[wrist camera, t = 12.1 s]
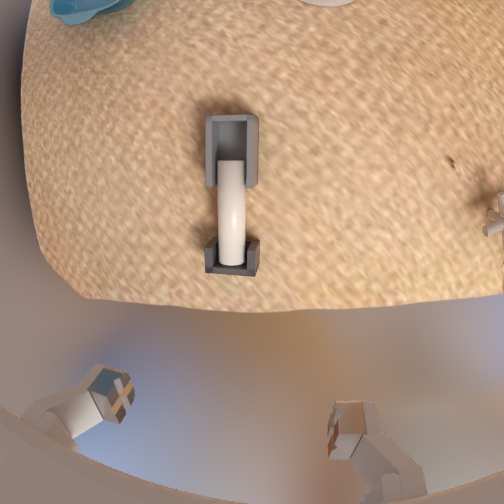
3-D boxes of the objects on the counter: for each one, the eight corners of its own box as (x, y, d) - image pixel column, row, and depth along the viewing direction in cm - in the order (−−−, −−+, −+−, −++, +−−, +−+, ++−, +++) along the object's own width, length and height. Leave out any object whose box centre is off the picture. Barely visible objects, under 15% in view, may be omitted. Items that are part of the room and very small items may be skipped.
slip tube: (221, 159, 42) (214, 161, 38) (248, 159, 42) (243, 161, 38) (222, 254, 47) (216, 264, 44) (247, 256, 47) (242, 266, 43)
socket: (213, 237, 48) (204, 247, 43) (259, 240, 47) (255, 251, 42) (214, 260, 49) (205, 272, 45) (259, 263, 48) (255, 276, 44)
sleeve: (215, 118, 41) (205, 115, 37) (258, 118, 40) (254, 114, 36) (215, 182, 45) (205, 187, 40) (257, 183, 44) (253, 188, 39)
